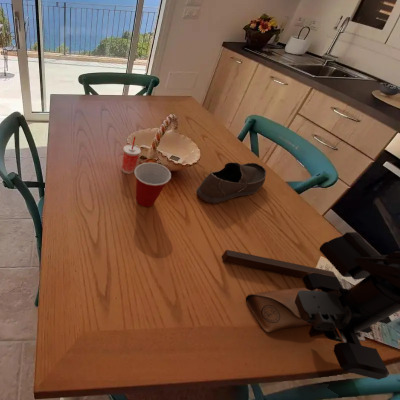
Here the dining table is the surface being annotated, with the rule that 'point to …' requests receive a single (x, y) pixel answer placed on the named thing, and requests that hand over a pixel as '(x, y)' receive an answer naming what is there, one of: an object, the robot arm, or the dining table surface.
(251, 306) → the sunglasses case
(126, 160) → the beverage cup
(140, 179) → the plastic cup
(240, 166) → the loafer
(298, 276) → the rail
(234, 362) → the dining table surface
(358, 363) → the robot arm
